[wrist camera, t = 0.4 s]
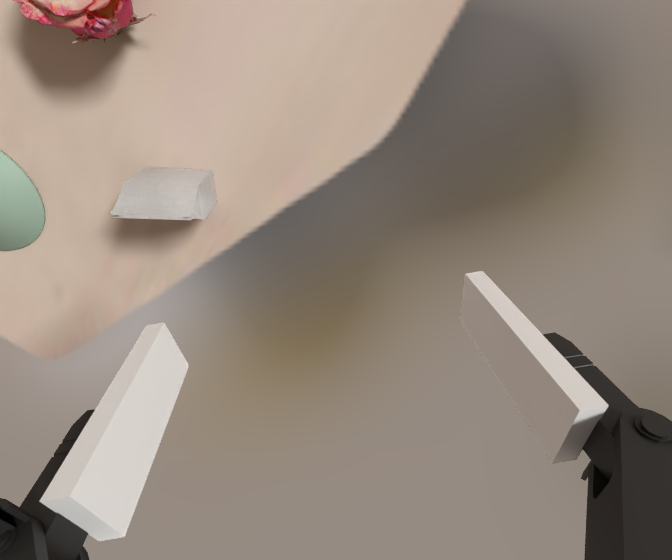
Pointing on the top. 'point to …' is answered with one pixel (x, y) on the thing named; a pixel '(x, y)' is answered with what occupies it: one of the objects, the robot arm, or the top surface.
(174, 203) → the white paper snack bag
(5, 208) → the green plate
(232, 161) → the top surface
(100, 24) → the flower
